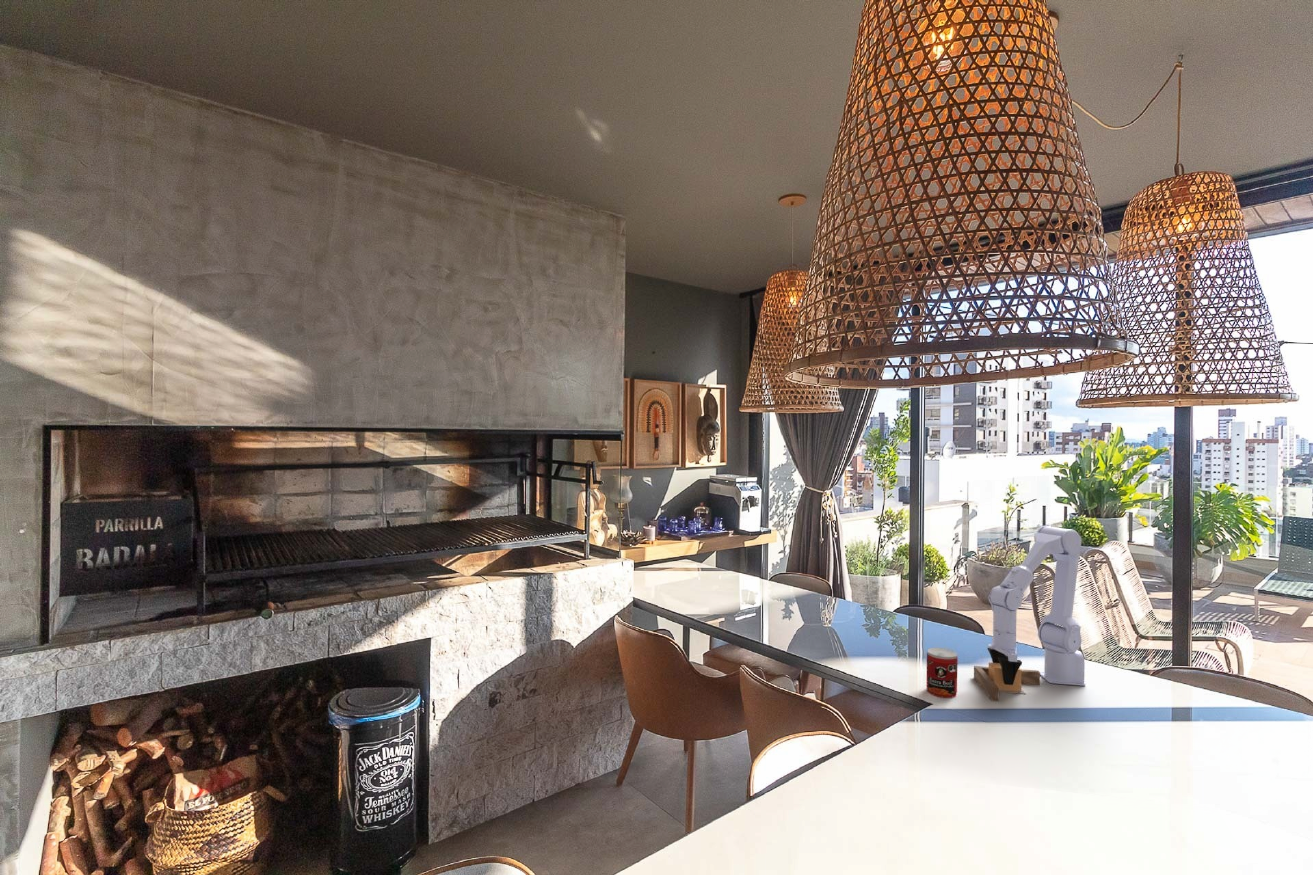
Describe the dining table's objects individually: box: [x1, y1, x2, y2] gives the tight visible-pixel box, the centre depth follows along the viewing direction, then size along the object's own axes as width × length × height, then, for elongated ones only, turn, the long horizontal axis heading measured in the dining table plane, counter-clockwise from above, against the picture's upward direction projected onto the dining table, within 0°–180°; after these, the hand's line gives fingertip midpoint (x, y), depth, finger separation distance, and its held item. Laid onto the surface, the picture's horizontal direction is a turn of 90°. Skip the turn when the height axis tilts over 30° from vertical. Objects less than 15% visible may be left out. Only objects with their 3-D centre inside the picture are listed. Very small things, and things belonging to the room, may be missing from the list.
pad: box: [999, 688, 1027, 695], centre depth 184 cm, size 9×8×1 cm
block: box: [988, 662, 1022, 692], centre depth 183 cm, size 4×7×6 cm, turn 80°
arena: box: [973, 665, 1041, 702], centre depth 181 cm, size 17×17×4 cm
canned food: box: [926, 647, 959, 699], centre depth 179 cm, size 8×8×11 cm
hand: (1003, 679), depth 183 cm, fingers open, 7 cm apart
